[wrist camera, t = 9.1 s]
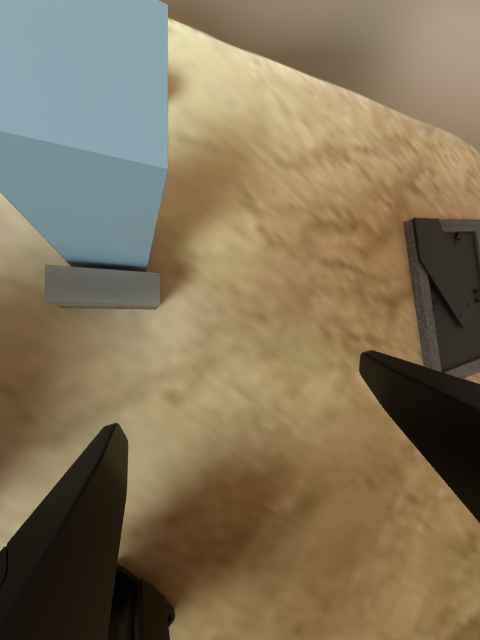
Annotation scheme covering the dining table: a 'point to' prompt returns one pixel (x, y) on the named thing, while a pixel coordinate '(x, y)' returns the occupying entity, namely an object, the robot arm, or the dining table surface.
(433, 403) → the robot arm
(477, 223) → the picture frame
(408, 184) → the dining table surface
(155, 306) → the rail
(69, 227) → the block
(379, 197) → the dining table surface
